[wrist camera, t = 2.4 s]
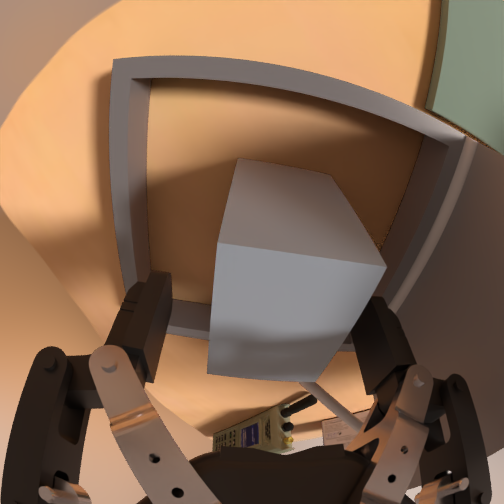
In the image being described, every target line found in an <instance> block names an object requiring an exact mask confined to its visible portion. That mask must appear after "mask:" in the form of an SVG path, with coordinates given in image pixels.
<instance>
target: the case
mask: <svg viewBox="0 0 504 504" xmlns="http://www.w3.org/2000/svg"><path fill="white" fill-rule="evenodd" d="M152 78H195V79H211V80H222V81H232V82H240V83H248V84H255V85H262V86H268V87H273V88H279V89H284V90H289V91H294V92H299V93H303V94H307V95H312V96H316V97H320V98H324V99H327V100H331V101H335V102H338V103H342V104H345V105H348V106H352V107H355V108H358V109H361V110H364V111H367V112H370V113H373V114H376V115H379V116H381V117H384V118H387V119H389V120H392V121H394V122H397V123H399V124H402V125H404V126H407V127H409V128H411V129H414V130H416V131H418V132H421V133H423V134H425V135H424V139H423V142H422V145H421V149H420V152H419V155H418V158H417V161H416V164H415V167H414V170H413V173H412V175H411V178H410V181H409V184H408V186H407V189H406V192H405V194H404V197H403V200H402V202H401V205H400V207H399V210H398V212H397V214H396V217H395V219H394V222H393V224H392V226H391V229H390V231H389V233H388V235H387V238H386V240H385V242H384V244H383V246H382V249H381V251H380V255H381V257H382V258H383V260H384V262H385V264H386V266H387V269H386V270H385V272H384V274H383V276H382V278H381V280H380V282H379V283H378V285H377V287H376V289H375V291H374V292H373V294H372V296H381V297H383V298H384V300H385V302H386V304H387V306H388V308H389V309H391V310H392V311H393V312H394V313H395V315H396V316H397V317H398V319H399V321H400V323H401V326H402V329H403V330H404V333H405V337H407V340H408V342H409V345H410V347H411V350H412V352H413V355H414V357H415V360H416V363H417V365H422V366H424V367H425V368H426V369H428V370H429V372H430V373H431V375H432V377H433V378H437V379H442V380H446V379H447V378H448V377H449V376H450V375H451V374H459V375H461V376H462V377H463V378H464V379H465V381H466V382H467V385H468V388H469V391H470V394H471V397H472V400H473V403H474V406H475V410H476V413H477V417H478V420H479V424H480V428H481V432H482V436H483V441H484V445H485V450H486V455H487V457H488V456H490V455H492V454H494V453H495V452H497V451H499V450H500V449H502V448H504V156H503V155H501V154H499V153H498V152H496V151H494V150H492V149H490V148H488V147H486V146H484V145H482V144H480V143H478V142H477V141H475V140H473V139H472V138H470V137H468V136H466V135H464V134H462V133H461V132H459V131H457V130H456V129H454V128H452V127H450V126H449V125H447V124H445V123H443V122H441V121H439V120H437V119H436V118H434V117H432V116H430V115H428V114H426V113H424V112H422V111H419V110H417V109H415V108H413V107H411V106H409V105H406V104H404V103H402V102H400V101H397V100H395V99H392V98H390V97H387V96H385V95H382V94H380V93H377V92H374V91H372V90H369V89H366V88H363V87H360V86H357V85H354V84H351V83H348V82H345V81H342V80H338V79H335V78H332V77H328V76H324V75H321V74H317V73H313V72H309V71H304V70H300V69H295V68H291V67H286V66H281V65H275V64H269V63H263V62H257V61H249V60H241V59H232V58H221V57H207V56H145V57H131V58H120V59H113V68H112V78H111V91H110V111H109V159H110V180H111V194H112V205H113V215H114V224H115V232H116V239H117V246H118V253H119V259H120V265H121V271H122V276H123V281H124V286H125V291H126V294H127V292H128V290H129V289H130V288H131V287H132V286H133V285H134V284H135V283H136V282H137V281H139V282H145V283H146V281H147V279H148V276H149V274H150V272H151V264H150V252H149V238H148V220H147V184H146V164H147V130H148V113H149V99H150V88H151V79H152ZM211 308H212V305H207V304H200V303H194V302H187V301H181V300H175V299H173V304H172V312H171V316H170V320H169V324H168V327H167V331H166V333H168V334H173V335H179V336H185V337H191V338H197V339H204V340H209V334H210V321H211ZM338 351H351V352H356V351H355V347H354V344H353V340H352V337H351V333H350V332H349V334H348V336H347V337H346V339H345V340H344V342H343V343H342V345H341V346H340V348H339V349H338ZM299 383H300V384H301V385H302V386H303V387H304V388H305V389H306V390H308V391H309V392H310V393H311V394H312V395H313V396H314V397H315V398H317V399H318V400H319V401H320V402H321V403H322V404H324V405H325V406H326V407H327V408H328V409H329V410H331V411H332V412H333V413H334V414H335V415H336V416H338V417H339V418H340V419H341V420H342V421H344V422H345V423H346V424H347V425H348V426H350V427H351V428H352V429H353V430H355V431H356V432H357V433H359V431H360V429H361V427H362V425H363V422H362V421H361V420H359V419H358V418H357V417H356V416H355V415H353V414H352V413H351V412H350V411H349V410H347V409H346V408H345V407H344V406H342V405H341V404H340V403H339V402H338V401H337V400H335V399H334V398H333V397H332V396H331V395H329V394H328V393H327V392H326V391H325V390H324V389H323V388H321V387H320V386H319V385H318V384H317V383H316V382H299ZM373 396H374V401H375V400H376V399H377V395H376V394H373ZM440 422H441V426H442V430H443V435H444V440H445V443H447V442H448V441H449V439H450V429H449V425H448V421H447V417H446V414H444V415H443V416H442V417H440ZM418 486H421V476H420V468H419V462H418V465H417V467H416V470H415V472H414V475H413V477H412V479H411V482H410V484H409V486H408V488H407V490H408V489H411V488H415V487H418Z"/></svg>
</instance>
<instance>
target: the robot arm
mask: <svg viewBox="0 0 504 504" xmlns="http://www.w3.org/2000/svg"><path fill="white" fill-rule="evenodd" d="M172 304H173V299H172V282H171V273H169V272H162V271H155V270H152V271H151V272H150V274H149V276H148V279H147V281H146V283H145V282H139V281H137V282H136V283H135V284H134V285H133V286H132V287H131V288H130V289H129V290H128V292H127V294H126V296H125V298H124V302H123V303H122V305H121V307H120V310H119V312H118V314H117V316H116V319H115V321H114V324H113V326H112V328H111V331H110V333H109V336H108V338H107V340H106V343H105V344H104V346H101V347H99V348H98V349H96V350H95V351H94V352H93V353H92V354H90V355H83V356H82V355H81V356H66V355H65V353H64V352H63V351H62V350H61V349H59V348H57V347H53V346H51V347H46V348H44V349H42V350H41V351H39V352H38V354H37V355H36V357H35V359H34V361H33V364H32V366H31V369H30V372H29V374H28V377H27V380H26V383H25V386H24V388H23V391H22V394H21V398H20V401H19V404H18V407H17V411H16V414H15V418H14V421H13V425H12V429H11V433H10V438H9V442H8V448H7V453H6V458H5V464H4V470H3V478H2V487H1V504H91V499H90V497H89V495H88V493H87V492H86V491H85V490H84V489H83V488H82V487H81V486H79V485H78V482H79V474H80V467H81V459H82V452H83V446H84V441H85V435H86V430H87V425H88V420H89V415H90V411H91V409H92V408H93V409H95V408H104V409H105V411H106V413H107V416H108V418H109V420H110V428H111V431H112V433H113V435H114V437H115V440H116V442H117V444H118V446H119V448H120V450H121V452H122V454H123V455H124V457H125V459H126V461H127V463H128V465H129V466H130V468H131V470H132V471H133V473H134V475H135V477H136V478H137V480H138V482H139V483H140V485H141V486H142V488H143V490H144V491H145V493H146V494H147V496H146V497H145V498H143V499H142V500H141V501H139V502H138V503H137V504H490V501H491V497H492V490H491V481H490V473H489V467H488V461H487V455H486V450H485V445H484V441H483V436H482V432H481V428H480V424H479V420H478V417H477V413H476V410H475V406H474V403H473V400H472V397H471V394H470V391H469V388H468V385H467V382H466V381H465V379H464V378H463V377H462V376H461V375H459V374H451V375H450V376H449V377H448V378H447V379H446V380H442V379H437V378H433V377H432V375H431V373H430V372H429V370H428V369H426V368H425V367H424V366H422V365H417V363H416V360H415V357H414V355H413V352H412V350H411V347H410V345H409V342H408V340H407V337H405V333H404V330H403V329H402V326H401V323H400V321H399V319H398V317H397V316H396V315H395V313H394V312H393V311H392V310H391V309H389V308H388V306H387V304H386V302H385V300H384V298H383V297H381V296H371V298H370V300H369V301H368V303H367V305H366V306H365V308H364V310H363V311H362V313H361V315H360V316H359V318H358V320H357V321H356V323H355V325H354V326H353V328H352V329H351V331H350V333H351V337H352V340H353V344H354V347H355V351H356V355H357V358H358V362H359V366H360V370H361V374H362V378H363V382H364V386H365V390H366V395H373V394H376V395H377V399H376V400H375V401H374V403H373V405H372V407H371V409H370V411H369V413H368V415H367V417H366V419H365V421H364V423H363V425H362V427H361V429H360V431H359V433H358V435H357V436H356V437H355V438H354V439H353V440H352V441H351V443H350V444H349V445H348V446H347V448H346V449H345V450H344V444H334V445H325V446H316V447H312V448H309V449H306V450H303V451H300V452H296V453H293V454H289V455H281V454H277V453H272V452H268V451H264V450H260V449H256V448H245V447H229V446H221V447H220V450H219V451H214V452H210V453H205V454H203V455H200V456H197V457H195V458H193V459H191V460H190V461H188V460H187V459H186V457H185V456H184V454H183V453H182V451H181V450H180V448H179V447H178V445H177V444H176V442H175V441H174V439H173V438H172V436H171V434H170V433H169V431H168V430H167V428H166V426H165V425H164V423H163V421H162V420H161V418H160V416H159V414H158V413H157V411H156V410H155V408H154V407H153V405H152V404H151V402H150V400H149V398H148V396H147V394H146V393H145V390H144V387H145V383H146V382H149V383H154V379H155V375H156V371H157V367H158V363H159V358H160V354H161V350H162V347H163V343H164V339H165V335H166V331H167V327H168V324H169V320H170V316H171V312H172ZM444 414H446V417H447V421H448V425H449V429H450V439H449V441H448V442H447V443H445V440H444V435H443V430H442V426H441V422H440V417H442V416H443V415H444ZM418 462H419V468H420V476H421V485H422V490H421V492H420V493H418V494H417V495H416V496H415V499H414V500H415V502H414V501H412V500H411V499H410V498H409V497H408V496H407V495H406V494H405V493H406V491H407V488H408V486H409V484H410V482H411V479H412V477H413V475H414V472H415V470H416V467H417V465H418Z"/></svg>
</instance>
